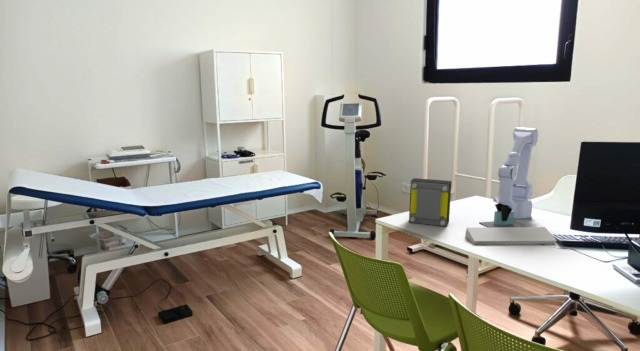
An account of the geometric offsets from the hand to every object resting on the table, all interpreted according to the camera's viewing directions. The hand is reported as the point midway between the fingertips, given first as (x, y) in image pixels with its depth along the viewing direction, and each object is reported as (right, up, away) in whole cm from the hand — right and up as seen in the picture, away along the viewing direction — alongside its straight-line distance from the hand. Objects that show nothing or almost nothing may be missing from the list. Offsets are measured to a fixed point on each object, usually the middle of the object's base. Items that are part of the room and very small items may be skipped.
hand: (502, 220), depth 213 cm
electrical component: (-34, -2, +4) cm, 34 cm away
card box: (0, -2, 0) cm, 2 cm away
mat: (+1, -3, -1) cm, 3 cm away
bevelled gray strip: (-5, -7, -20) cm, 22 cm away
